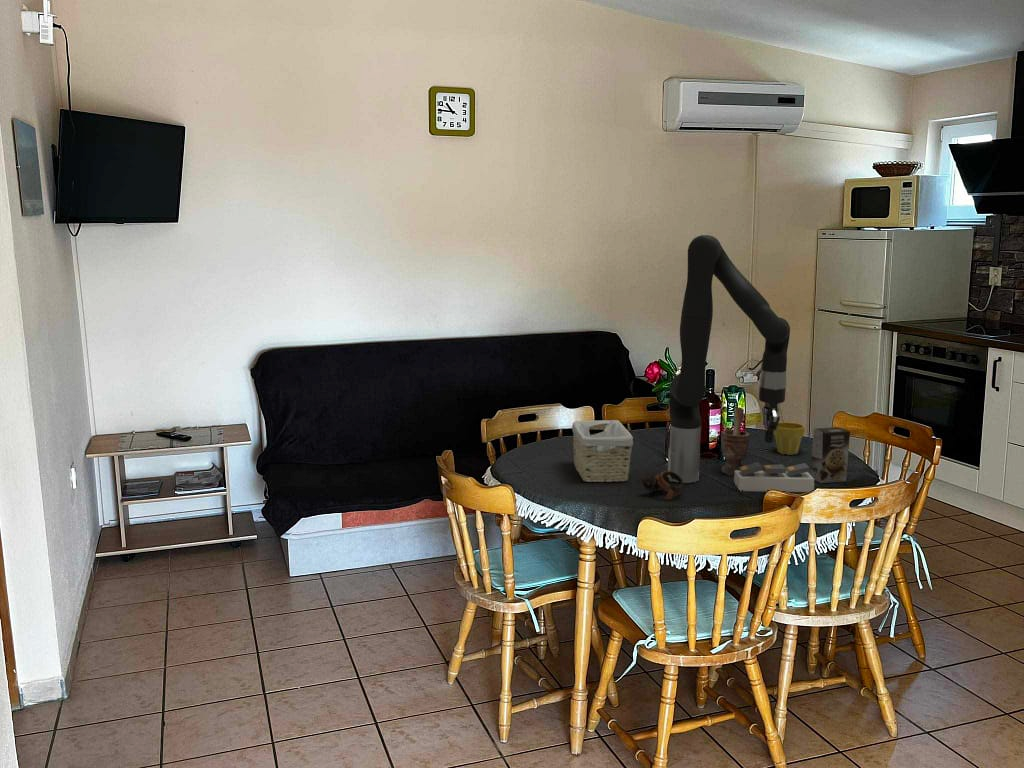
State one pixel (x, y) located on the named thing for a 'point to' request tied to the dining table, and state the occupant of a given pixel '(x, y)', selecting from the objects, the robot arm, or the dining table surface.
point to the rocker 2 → (774, 469)
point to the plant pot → (788, 437)
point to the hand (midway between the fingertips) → (768, 442)
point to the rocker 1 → (750, 468)
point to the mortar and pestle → (734, 444)
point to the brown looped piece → (663, 484)
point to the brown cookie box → (830, 454)
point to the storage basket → (602, 450)
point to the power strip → (774, 482)
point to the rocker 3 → (797, 469)
